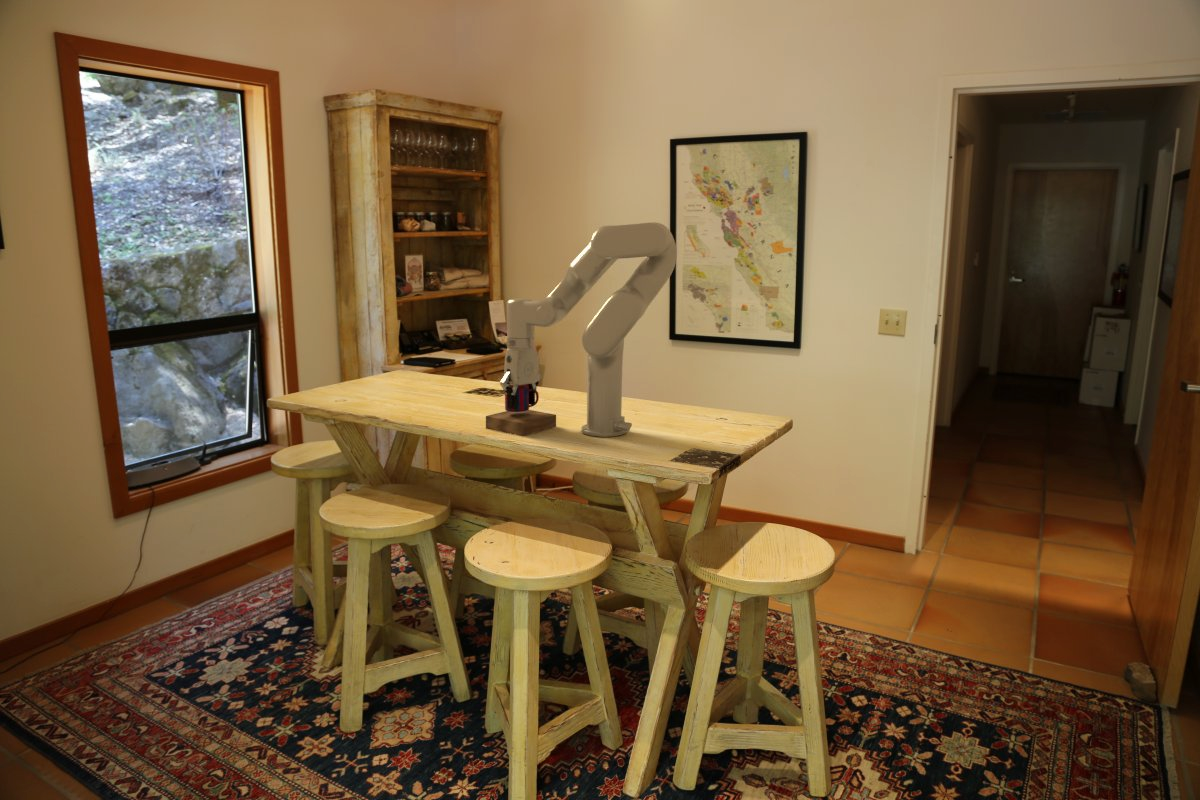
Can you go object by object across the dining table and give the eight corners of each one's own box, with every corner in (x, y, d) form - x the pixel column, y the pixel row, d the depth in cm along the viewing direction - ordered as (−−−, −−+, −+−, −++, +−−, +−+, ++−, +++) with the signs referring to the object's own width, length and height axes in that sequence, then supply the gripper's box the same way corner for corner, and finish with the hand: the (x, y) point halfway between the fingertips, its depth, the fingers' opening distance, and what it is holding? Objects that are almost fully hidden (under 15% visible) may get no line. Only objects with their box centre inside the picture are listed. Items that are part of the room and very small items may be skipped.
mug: (514, 406, 242) (513, 382, 241) (543, 410, 238) (543, 386, 236) (500, 410, 237) (500, 386, 235) (530, 414, 232) (529, 390, 231)
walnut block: (556, 428, 240) (556, 414, 239) (523, 437, 229) (523, 423, 228) (519, 421, 248) (519, 407, 247) (485, 429, 237) (485, 416, 236)
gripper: (509, 348, 224) (509, 413, 228) (551, 341, 238) (551, 403, 241) (488, 345, 229) (489, 409, 232) (531, 339, 242) (531, 399, 246)
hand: (521, 405), depth 237 cm, fingers closed on mug, 6 cm apart
